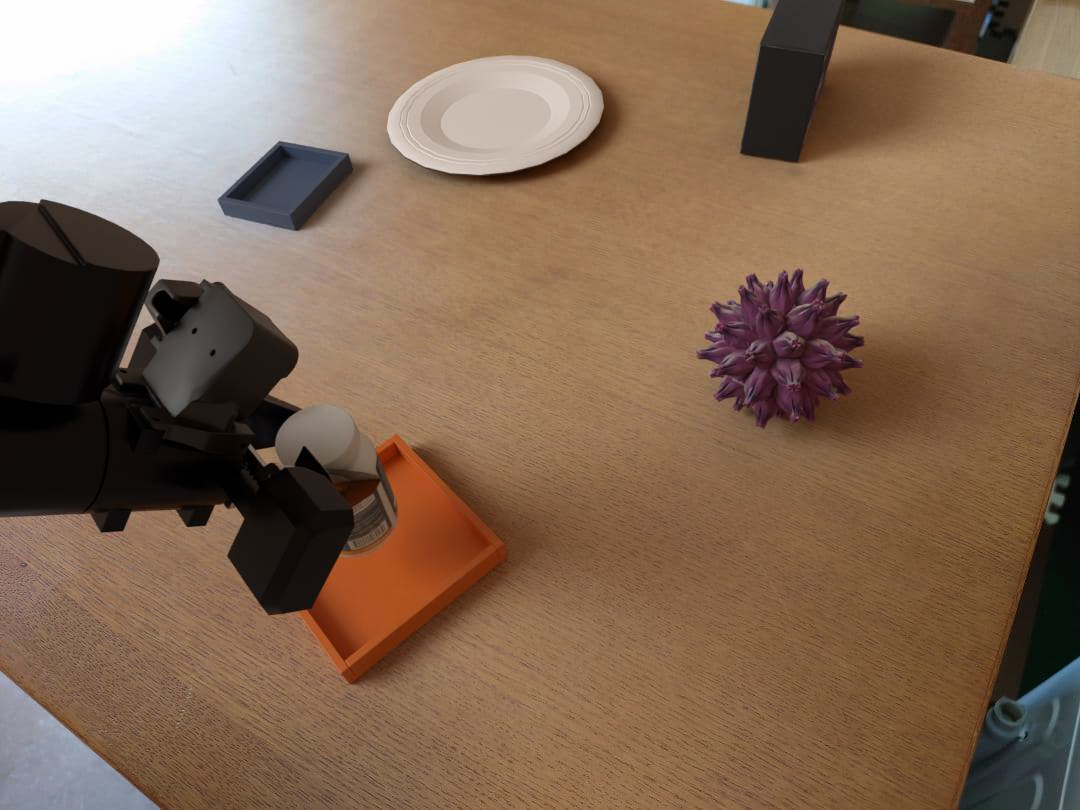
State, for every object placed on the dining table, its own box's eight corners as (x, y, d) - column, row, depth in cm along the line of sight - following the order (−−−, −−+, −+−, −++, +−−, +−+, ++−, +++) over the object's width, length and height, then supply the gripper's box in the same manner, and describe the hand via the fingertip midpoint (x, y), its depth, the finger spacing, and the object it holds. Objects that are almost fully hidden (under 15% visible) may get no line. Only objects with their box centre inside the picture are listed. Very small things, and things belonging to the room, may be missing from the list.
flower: (699, 457, 60) (686, 328, 66) (860, 450, 59) (833, 318, 64) (708, 388, 50) (692, 241, 55) (903, 376, 49) (867, 227, 54)
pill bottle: (328, 487, 54) (281, 395, 47) (408, 489, 54) (373, 396, 46) (306, 560, 51) (251, 473, 43) (391, 563, 50) (351, 476, 42)
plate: (351, 171, 86) (346, 156, 85) (444, 60, 101) (441, 46, 99) (563, 203, 80) (562, 187, 78) (630, 79, 94) (630, 64, 92)
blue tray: (296, 231, 80) (289, 215, 79) (224, 215, 83) (216, 199, 82) (353, 169, 87) (348, 153, 85) (285, 155, 90) (279, 140, 88)
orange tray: (349, 685, 50) (340, 673, 48) (254, 551, 57) (244, 538, 55) (507, 557, 55) (504, 543, 53) (402, 448, 61) (396, 433, 60)
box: (802, 165, 80) (826, 52, 71) (738, 156, 82) (752, 44, 73) (829, 82, 90) (852, -28, 80) (770, 75, 92) (787, -33, 82)
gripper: (238, 418, 28) (508, 434, 40) (64, 202, 37) (325, 269, 50) (135, 649, 31) (415, 597, 43) (-2, 394, 41) (260, 412, 53)
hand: (350, 455), depth 47 cm, fingers closed on pill bottle, 5 cm apart
